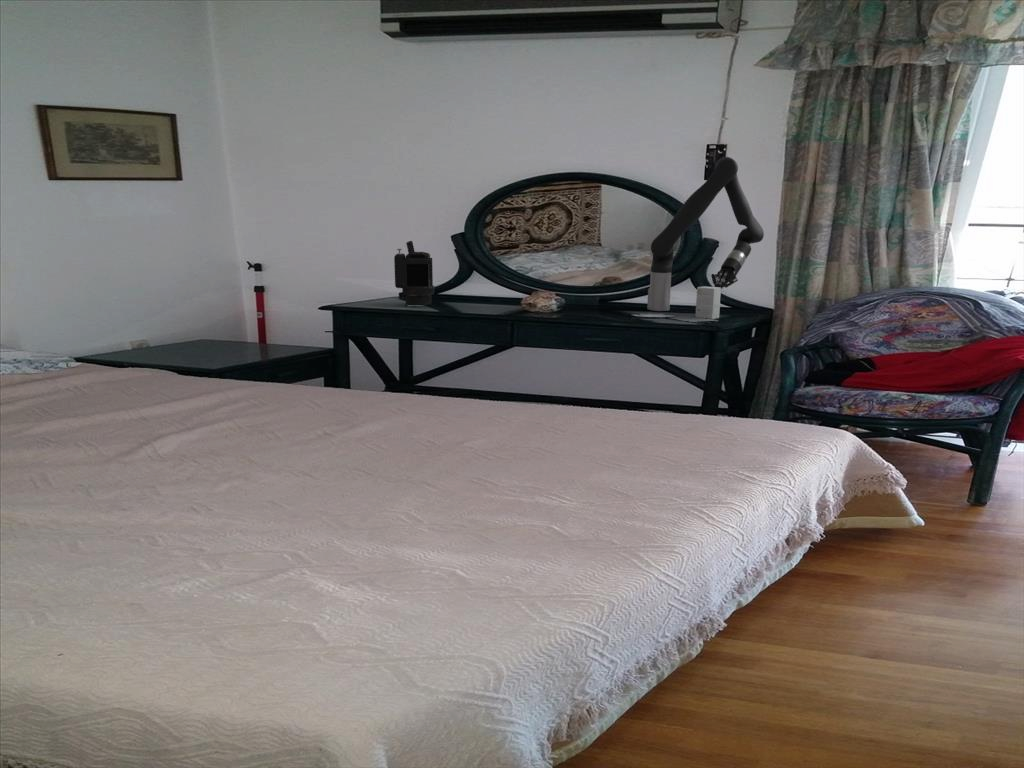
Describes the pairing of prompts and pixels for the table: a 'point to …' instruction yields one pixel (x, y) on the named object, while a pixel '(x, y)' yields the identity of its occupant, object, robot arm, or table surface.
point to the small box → (708, 302)
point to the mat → (693, 319)
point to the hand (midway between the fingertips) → (714, 292)
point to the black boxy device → (414, 276)
